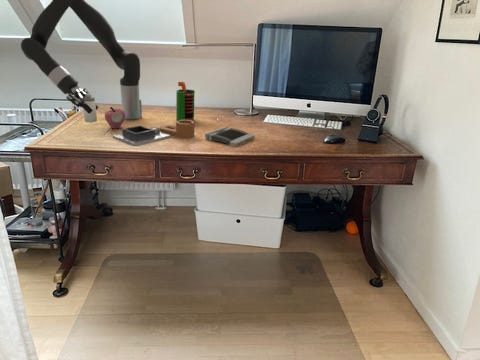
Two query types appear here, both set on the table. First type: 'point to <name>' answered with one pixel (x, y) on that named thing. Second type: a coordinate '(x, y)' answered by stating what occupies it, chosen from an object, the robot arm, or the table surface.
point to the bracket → (180, 129)
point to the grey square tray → (229, 136)
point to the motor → (184, 103)
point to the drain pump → (91, 103)
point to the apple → (115, 117)
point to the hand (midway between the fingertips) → (93, 110)
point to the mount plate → (141, 135)
